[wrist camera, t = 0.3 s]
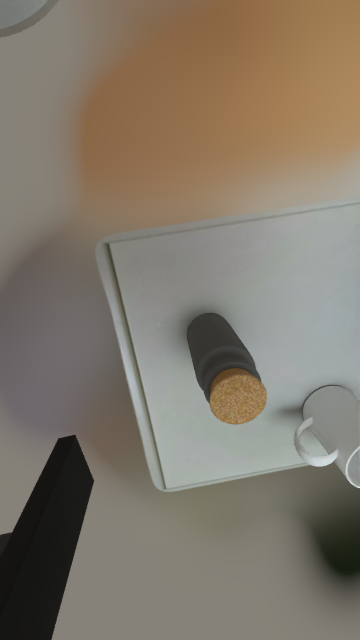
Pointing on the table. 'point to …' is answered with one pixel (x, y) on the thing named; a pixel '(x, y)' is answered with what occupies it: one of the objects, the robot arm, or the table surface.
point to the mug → (333, 430)
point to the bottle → (225, 370)
